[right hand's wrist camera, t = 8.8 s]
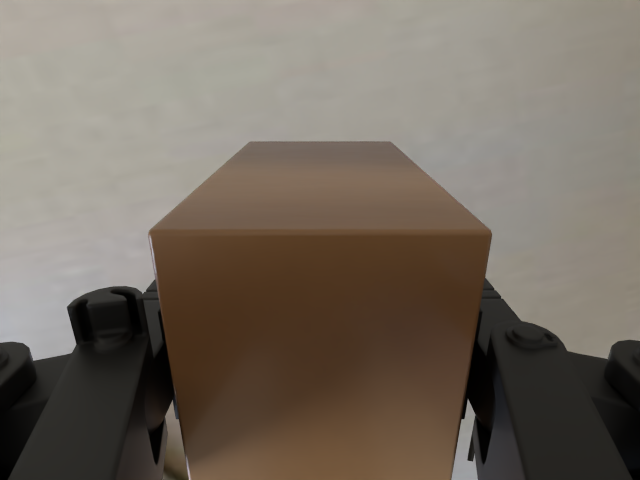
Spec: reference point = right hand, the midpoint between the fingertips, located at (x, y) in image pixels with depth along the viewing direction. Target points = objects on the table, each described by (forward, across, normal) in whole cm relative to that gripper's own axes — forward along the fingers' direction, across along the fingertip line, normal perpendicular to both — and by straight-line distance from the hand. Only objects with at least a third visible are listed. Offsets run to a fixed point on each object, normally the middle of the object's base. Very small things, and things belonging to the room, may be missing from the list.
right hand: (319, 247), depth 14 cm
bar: (+1, 0, -9) cm, 9 cm away
